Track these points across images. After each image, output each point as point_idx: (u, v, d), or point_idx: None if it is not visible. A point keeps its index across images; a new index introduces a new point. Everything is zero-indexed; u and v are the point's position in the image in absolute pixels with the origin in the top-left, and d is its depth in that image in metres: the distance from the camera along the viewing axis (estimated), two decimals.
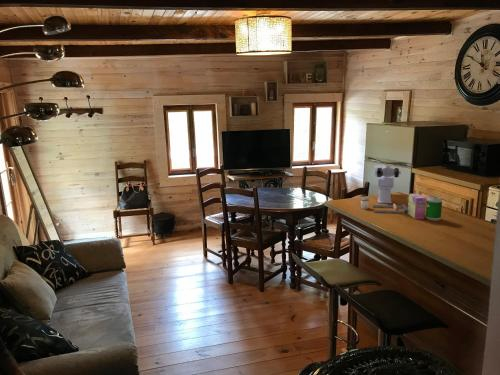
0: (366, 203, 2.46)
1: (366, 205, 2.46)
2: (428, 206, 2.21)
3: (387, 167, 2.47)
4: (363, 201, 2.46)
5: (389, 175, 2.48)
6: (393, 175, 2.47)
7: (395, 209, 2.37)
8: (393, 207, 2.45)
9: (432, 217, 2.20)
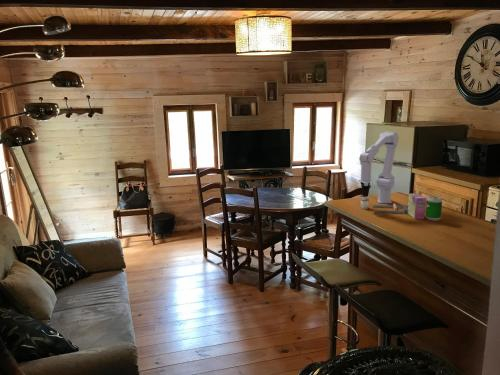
0: (366, 203, 2.46)
1: (366, 205, 2.46)
2: (428, 206, 2.21)
3: None
4: (363, 201, 2.46)
5: None
6: (369, 182, 2.42)
7: (395, 209, 2.37)
8: (393, 207, 2.45)
9: (432, 217, 2.20)
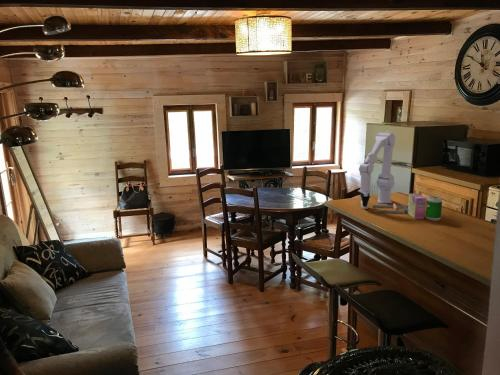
0: None
1: None
2: (428, 206, 2.21)
3: None
4: None
5: None
6: (368, 193, 2.43)
7: (395, 209, 2.37)
8: (393, 207, 2.45)
9: (432, 217, 2.20)
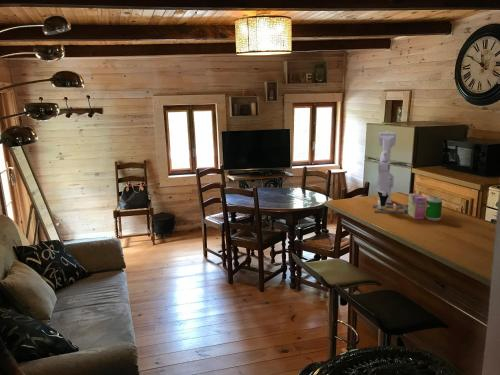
0: None
1: None
2: (428, 206, 2.21)
3: None
4: None
5: None
6: (387, 192, 2.38)
7: (395, 209, 2.37)
8: (393, 207, 2.45)
9: (432, 217, 2.20)
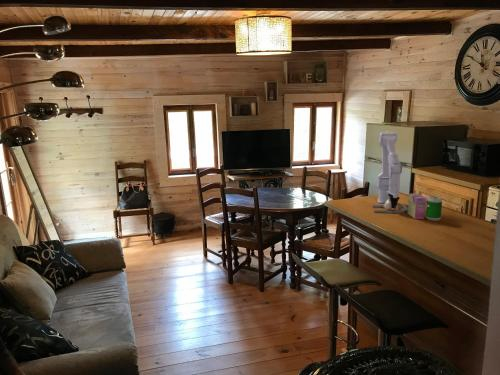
0: None
1: (390, 206, 2.40)
2: (428, 206, 2.21)
3: None
4: (390, 201, 2.40)
5: None
6: (397, 194, 2.37)
7: (396, 209, 2.37)
8: None
9: (432, 217, 2.20)
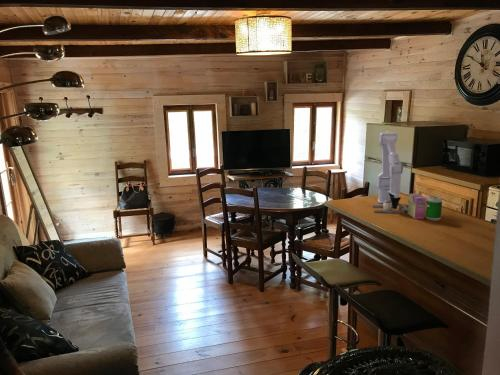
0: (389, 205, 2.40)
1: (389, 207, 2.41)
2: (428, 206, 2.21)
3: None
4: (386, 203, 2.41)
5: None
6: (398, 194, 2.37)
7: (397, 209, 2.37)
8: None
9: (432, 217, 2.20)
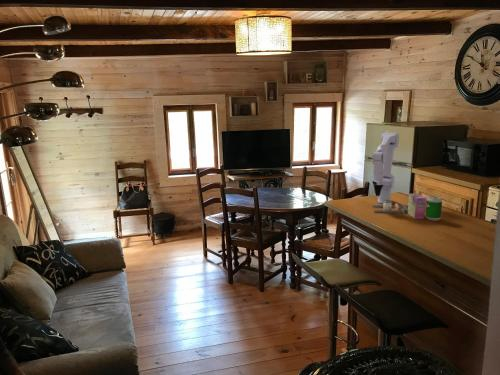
0: (389, 205, 2.40)
1: (389, 207, 2.41)
2: (428, 206, 2.21)
3: None
4: (386, 203, 2.41)
5: None
6: (381, 181, 2.41)
7: (397, 209, 2.37)
8: (395, 207, 2.44)
9: (432, 217, 2.20)
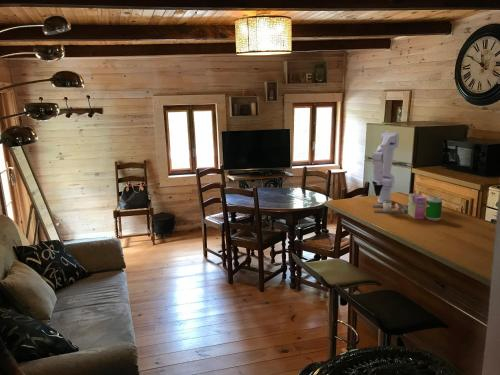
0: (388, 205, 2.40)
1: (388, 207, 2.41)
2: (428, 206, 2.21)
3: None
4: (385, 203, 2.41)
5: None
6: (381, 181, 2.41)
7: (397, 209, 2.37)
8: (395, 207, 2.44)
9: (432, 217, 2.20)
